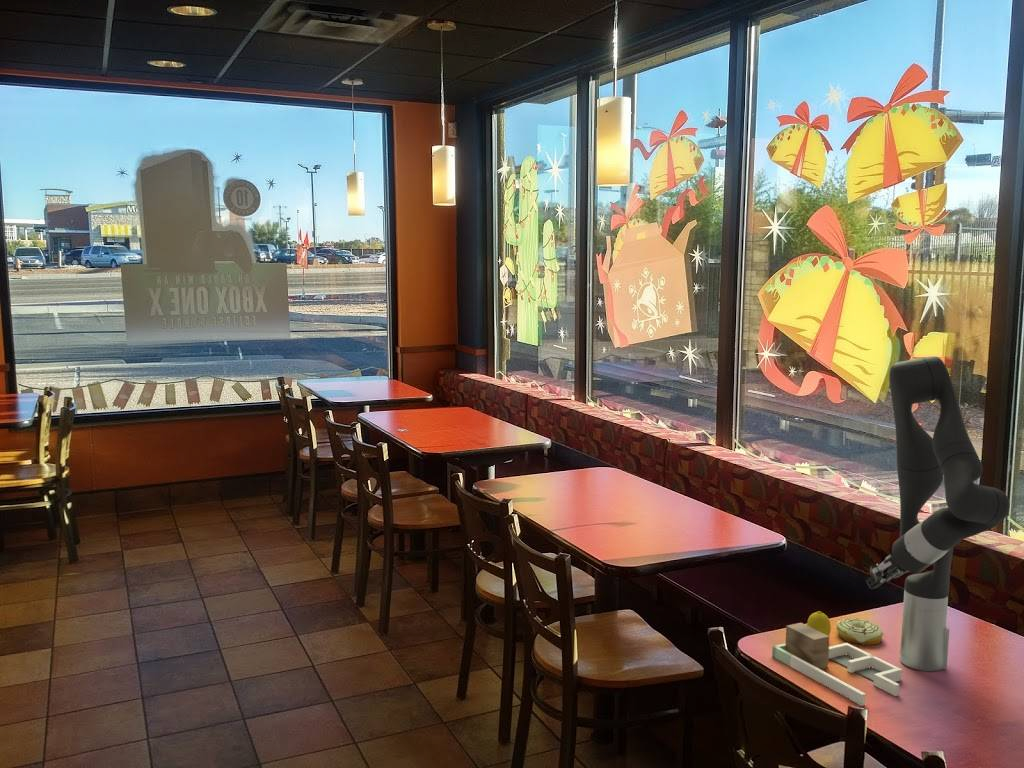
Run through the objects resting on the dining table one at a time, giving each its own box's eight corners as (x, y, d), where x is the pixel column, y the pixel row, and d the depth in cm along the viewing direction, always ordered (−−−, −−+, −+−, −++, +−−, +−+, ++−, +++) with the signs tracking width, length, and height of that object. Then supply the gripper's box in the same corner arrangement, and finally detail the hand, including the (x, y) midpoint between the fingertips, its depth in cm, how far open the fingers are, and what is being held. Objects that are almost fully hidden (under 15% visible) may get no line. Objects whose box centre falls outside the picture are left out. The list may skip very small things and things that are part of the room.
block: (827, 667, 207) (829, 636, 206) (812, 671, 205) (814, 639, 204) (799, 652, 215) (800, 622, 214) (785, 655, 213) (786, 625, 212)
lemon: (831, 648, 218) (833, 616, 217) (807, 646, 219) (809, 614, 218) (828, 639, 223) (829, 608, 222) (804, 637, 224) (806, 606, 223)
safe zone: (825, 657, 212) (826, 647, 212) (790, 666, 207) (790, 655, 207) (807, 648, 218) (807, 638, 217) (772, 656, 213) (772, 646, 212)
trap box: (920, 689, 196) (920, 678, 196) (861, 706, 189) (862, 694, 188) (846, 652, 215) (846, 642, 215) (790, 666, 207) (790, 655, 207)
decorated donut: (864, 650, 217) (865, 635, 216) (827, 635, 226) (827, 621, 225) (890, 640, 222) (891, 626, 222) (853, 626, 231) (854, 612, 231)
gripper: (934, 524, 185) (882, 564, 197) (888, 534, 179) (838, 574, 192) (955, 557, 181) (901, 595, 193) (909, 568, 175) (857, 606, 188)
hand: (870, 584), depth 192 cm, fingers closed
